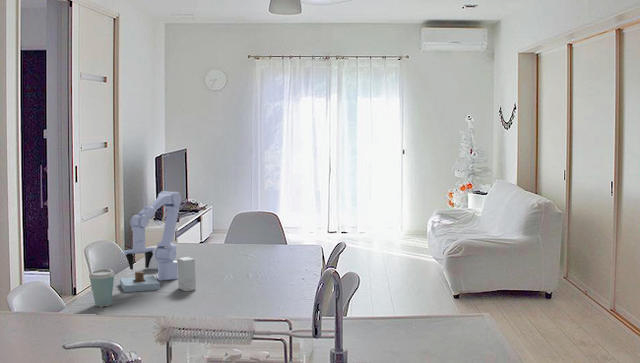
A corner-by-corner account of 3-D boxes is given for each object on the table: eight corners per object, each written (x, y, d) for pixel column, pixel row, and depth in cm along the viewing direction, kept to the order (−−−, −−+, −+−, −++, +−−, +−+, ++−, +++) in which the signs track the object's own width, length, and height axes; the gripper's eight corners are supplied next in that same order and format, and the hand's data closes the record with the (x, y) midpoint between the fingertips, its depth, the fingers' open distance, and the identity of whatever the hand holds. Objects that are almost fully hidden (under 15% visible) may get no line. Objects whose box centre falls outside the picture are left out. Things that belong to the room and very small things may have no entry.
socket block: (153, 281, 335) (153, 275, 335) (159, 289, 321) (159, 283, 320) (119, 284, 329) (119, 278, 328) (124, 292, 314) (124, 285, 314)
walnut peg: (142, 285, 328) (141, 271, 327) (145, 287, 324) (144, 272, 324) (133, 286, 325) (133, 272, 325) (136, 288, 322) (136, 273, 321)
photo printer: (164, 267, 367) (164, 245, 366) (164, 269, 363) (163, 246, 361) (145, 268, 365) (145, 245, 364) (144, 269, 361) (144, 247, 360)
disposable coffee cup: (112, 308, 287) (111, 273, 286) (86, 308, 286) (85, 273, 285) (117, 301, 298) (117, 268, 296) (92, 302, 297) (92, 268, 295)
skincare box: (196, 290, 320) (196, 259, 319) (183, 291, 317) (183, 260, 315) (189, 286, 327) (189, 256, 326) (177, 288, 324) (177, 257, 322)
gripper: (150, 237, 330) (150, 265, 331) (121, 240, 322) (121, 268, 323) (156, 239, 324) (156, 267, 326) (126, 242, 316) (126, 271, 317)
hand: (139, 268), depth 324 cm, fingers open, 7 cm apart
